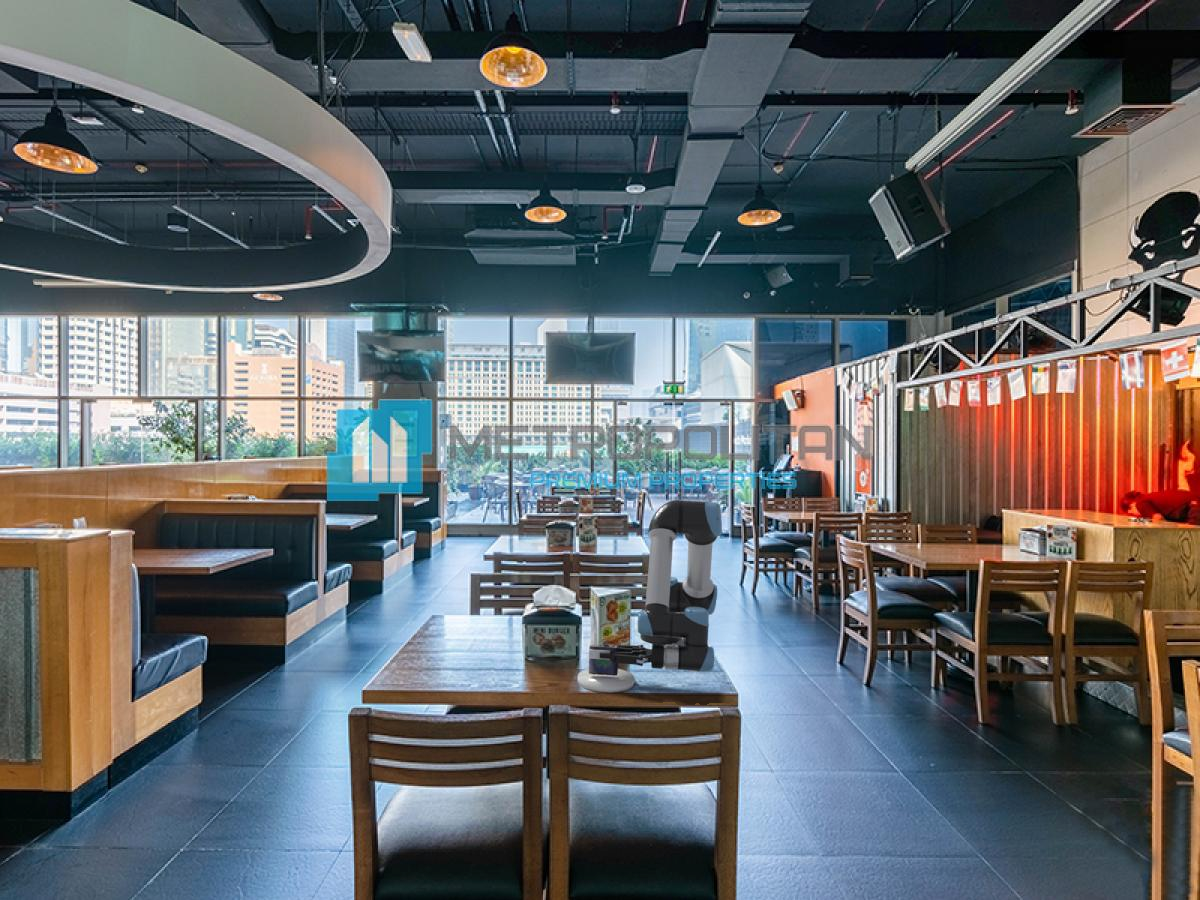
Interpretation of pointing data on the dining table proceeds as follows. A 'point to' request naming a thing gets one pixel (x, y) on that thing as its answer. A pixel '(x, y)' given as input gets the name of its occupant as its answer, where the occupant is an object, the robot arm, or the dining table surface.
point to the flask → (603, 661)
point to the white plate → (606, 681)
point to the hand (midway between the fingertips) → (589, 652)
